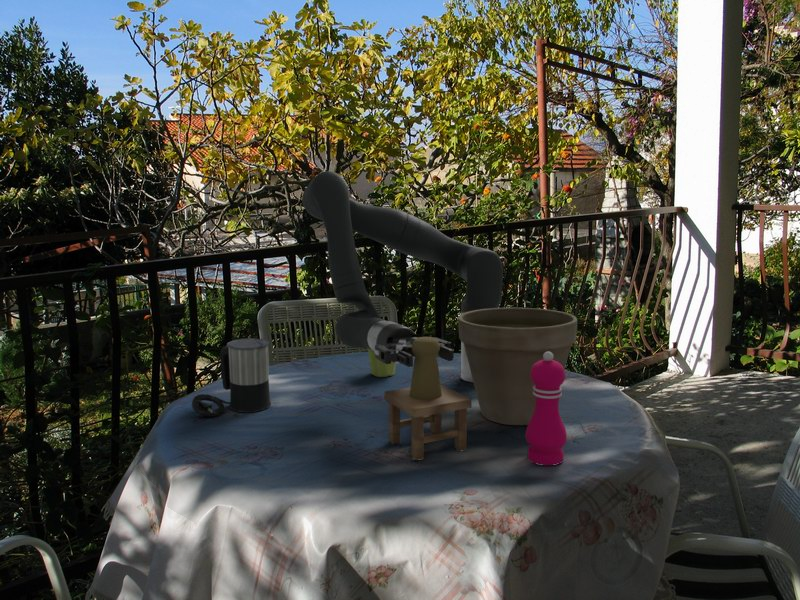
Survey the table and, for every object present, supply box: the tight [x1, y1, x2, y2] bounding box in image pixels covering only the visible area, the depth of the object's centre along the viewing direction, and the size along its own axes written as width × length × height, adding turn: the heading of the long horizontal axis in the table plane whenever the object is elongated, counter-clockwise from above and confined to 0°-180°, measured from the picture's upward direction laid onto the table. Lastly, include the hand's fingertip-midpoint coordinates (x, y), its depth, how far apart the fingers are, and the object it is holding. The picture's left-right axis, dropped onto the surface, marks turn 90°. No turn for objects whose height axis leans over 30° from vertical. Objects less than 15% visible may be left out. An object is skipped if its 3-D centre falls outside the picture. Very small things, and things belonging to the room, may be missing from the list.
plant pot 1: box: [366, 348, 397, 378], centre depth 181 cm, size 9×9×9 cm
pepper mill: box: [525, 351, 568, 465], centre depth 124 cm, size 7×7×20 cm
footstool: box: [383, 383, 472, 461], centre depth 131 cm, size 12×12×10 cm
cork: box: [410, 336, 442, 400], centre depth 130 cm, size 6×6×11 cm
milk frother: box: [191, 337, 272, 417], centre depth 153 cm, size 14×16×15 cm
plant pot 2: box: [457, 307, 578, 426], centre depth 148 cm, size 25×25×22 cm
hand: (431, 358), depth 128 cm, fingers open, 8 cm apart
